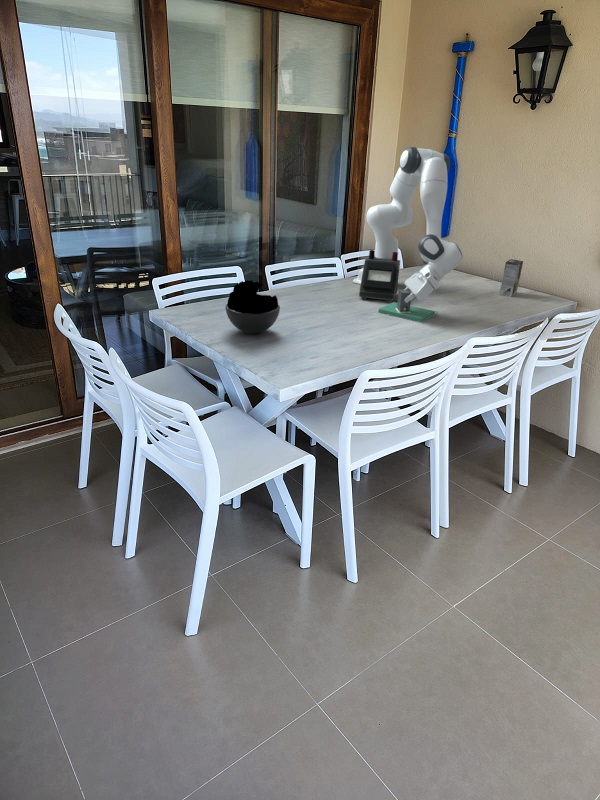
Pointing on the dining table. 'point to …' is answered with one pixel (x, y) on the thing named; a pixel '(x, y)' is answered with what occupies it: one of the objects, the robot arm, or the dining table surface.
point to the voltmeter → (380, 277)
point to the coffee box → (511, 277)
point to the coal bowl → (251, 308)
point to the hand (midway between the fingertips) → (402, 299)
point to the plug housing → (401, 302)
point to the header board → (414, 313)
